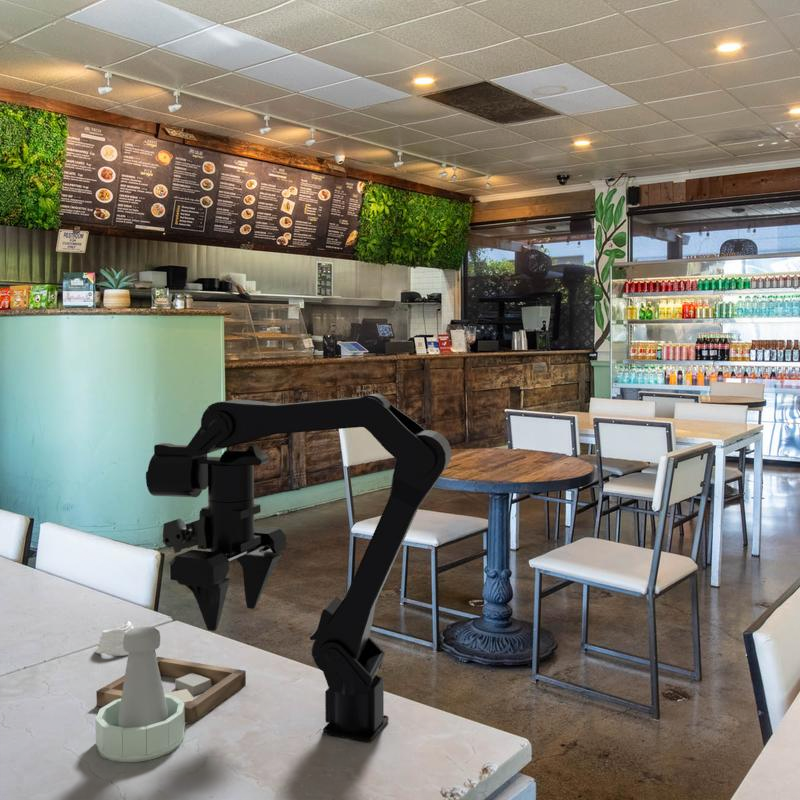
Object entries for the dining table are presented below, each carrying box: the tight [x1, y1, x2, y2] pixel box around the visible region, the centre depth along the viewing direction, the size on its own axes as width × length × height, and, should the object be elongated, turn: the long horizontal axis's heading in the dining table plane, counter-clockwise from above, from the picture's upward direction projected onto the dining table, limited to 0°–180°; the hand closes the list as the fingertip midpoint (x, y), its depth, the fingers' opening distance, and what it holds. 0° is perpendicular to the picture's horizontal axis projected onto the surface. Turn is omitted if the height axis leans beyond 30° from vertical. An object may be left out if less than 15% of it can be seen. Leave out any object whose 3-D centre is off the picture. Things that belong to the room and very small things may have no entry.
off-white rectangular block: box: [174, 673, 212, 696], centre depth 113 cm, size 4×3×2 cm
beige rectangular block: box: [164, 689, 195, 703], centre depth 107 cm, size 4×3×2 cm
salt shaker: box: [118, 625, 168, 728], centre depth 97 cm, size 6×6×13 cm
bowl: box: [94, 693, 186, 763], centre depth 97 cm, size 10×10×4 cm
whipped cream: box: [94, 621, 135, 657], centre depth 127 cm, size 8×7×5 cm
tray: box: [96, 656, 247, 725], centre depth 111 cm, size 15×13×2 cm
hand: (232, 618), depth 103 cm, fingers open, 9 cm apart
